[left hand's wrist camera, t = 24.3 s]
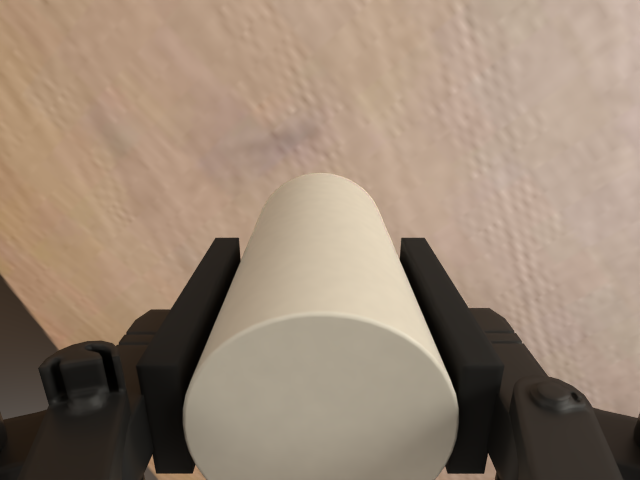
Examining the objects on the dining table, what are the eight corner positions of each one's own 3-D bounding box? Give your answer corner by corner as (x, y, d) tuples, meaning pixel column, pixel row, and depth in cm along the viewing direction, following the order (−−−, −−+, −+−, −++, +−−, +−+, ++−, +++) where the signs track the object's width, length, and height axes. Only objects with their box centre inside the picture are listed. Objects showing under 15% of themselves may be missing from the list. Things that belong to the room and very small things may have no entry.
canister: (390, 277, 19) (470, 509, 9) (274, 298, 19) (225, 543, 9) (372, 160, 17) (446, 288, 7) (243, 186, 17) (141, 341, 7)
